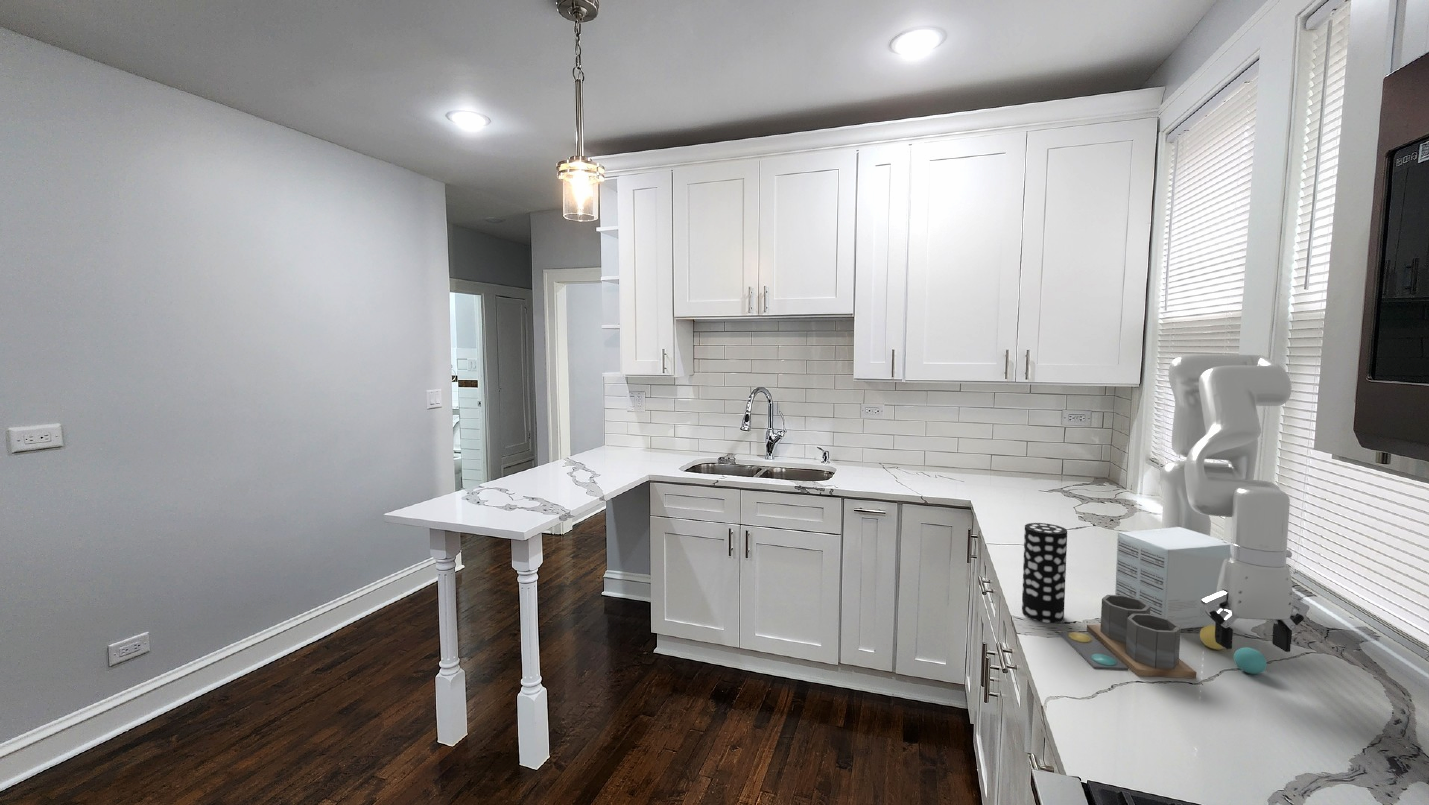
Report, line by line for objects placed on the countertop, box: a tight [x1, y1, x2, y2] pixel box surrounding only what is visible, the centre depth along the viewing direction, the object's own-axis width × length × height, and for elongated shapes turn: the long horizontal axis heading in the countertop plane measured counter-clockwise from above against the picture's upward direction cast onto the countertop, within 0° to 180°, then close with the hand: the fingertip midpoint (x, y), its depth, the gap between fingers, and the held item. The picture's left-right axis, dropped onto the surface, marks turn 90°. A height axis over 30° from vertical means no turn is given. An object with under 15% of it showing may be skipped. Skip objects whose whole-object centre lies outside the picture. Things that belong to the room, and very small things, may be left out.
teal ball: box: [1233, 647, 1268, 675], centre depth 109 cm, size 4×4×4 cm
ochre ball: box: [1199, 625, 1225, 650], centre depth 118 cm, size 4×4×4 cm
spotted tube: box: [1021, 522, 1068, 624], centre depth 133 cm, size 8×8×20 cm
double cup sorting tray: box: [1086, 594, 1197, 679], centre depth 117 cm, size 10×18×8 cm, turn 174°
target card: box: [1058, 631, 1129, 671], centre depth 118 cm, size 6×14×1 cm, turn 174°
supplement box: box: [1114, 527, 1231, 630], centre depth 132 cm, size 17×13×18 cm
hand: (1252, 647), depth 109 cm, fingers open, 9 cm apart
